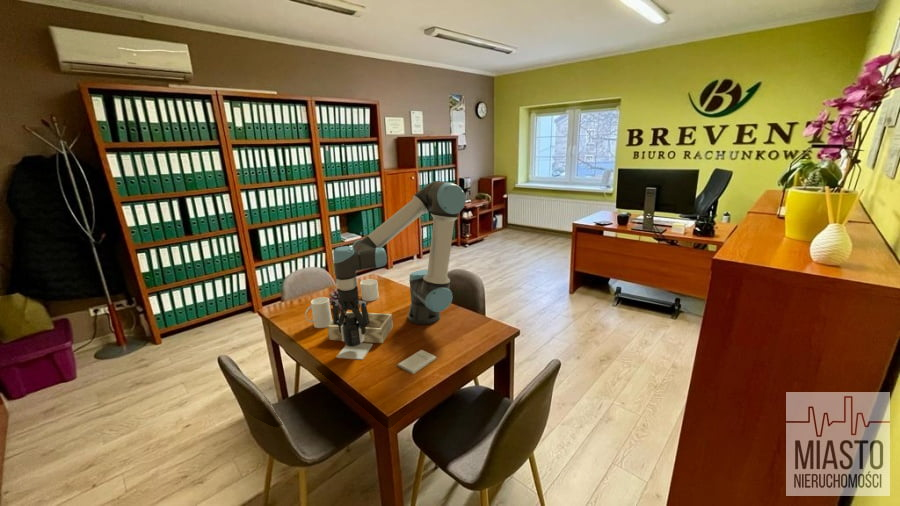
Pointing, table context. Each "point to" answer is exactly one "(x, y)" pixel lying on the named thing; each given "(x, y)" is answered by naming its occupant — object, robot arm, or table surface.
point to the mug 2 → (369, 289)
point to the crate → (368, 328)
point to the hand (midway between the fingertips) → (353, 340)
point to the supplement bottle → (351, 330)
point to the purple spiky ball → (334, 296)
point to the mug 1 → (320, 312)
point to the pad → (355, 351)
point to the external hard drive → (417, 361)
